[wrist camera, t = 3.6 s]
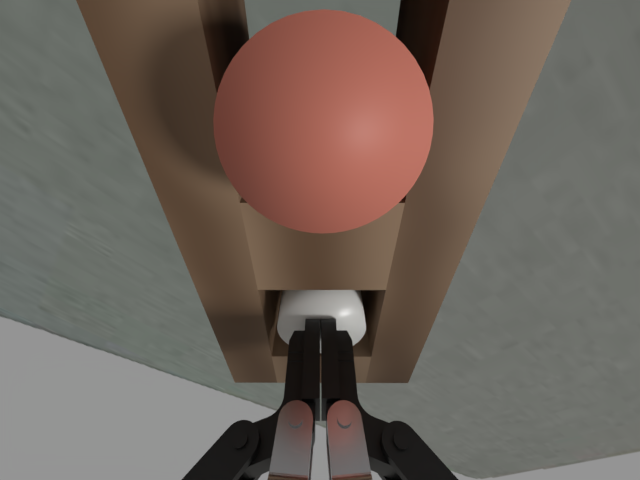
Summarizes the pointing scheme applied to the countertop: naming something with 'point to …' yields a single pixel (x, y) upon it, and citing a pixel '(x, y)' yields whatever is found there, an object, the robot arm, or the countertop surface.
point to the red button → (323, 121)
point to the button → (321, 311)
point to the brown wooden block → (322, 248)
